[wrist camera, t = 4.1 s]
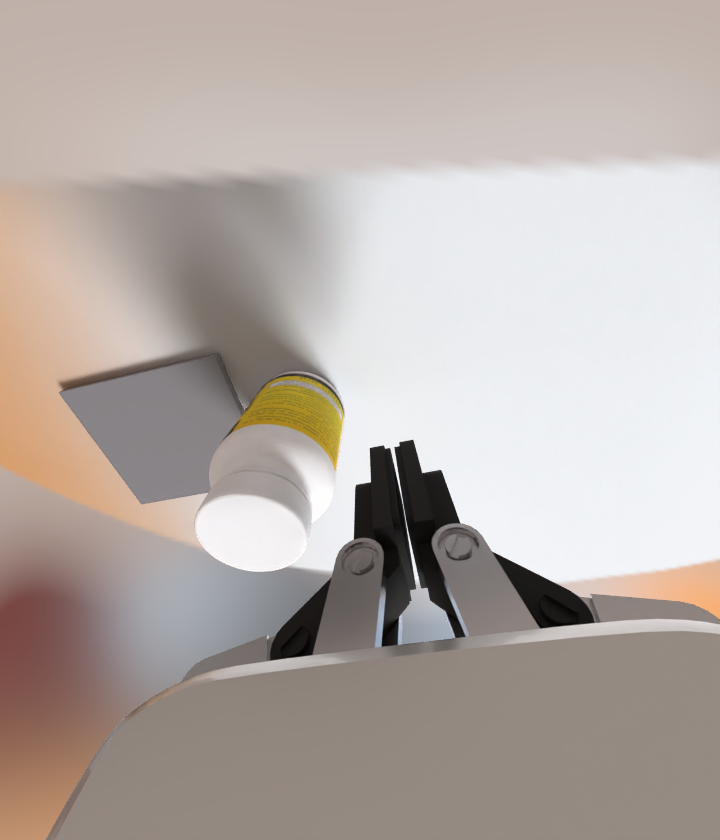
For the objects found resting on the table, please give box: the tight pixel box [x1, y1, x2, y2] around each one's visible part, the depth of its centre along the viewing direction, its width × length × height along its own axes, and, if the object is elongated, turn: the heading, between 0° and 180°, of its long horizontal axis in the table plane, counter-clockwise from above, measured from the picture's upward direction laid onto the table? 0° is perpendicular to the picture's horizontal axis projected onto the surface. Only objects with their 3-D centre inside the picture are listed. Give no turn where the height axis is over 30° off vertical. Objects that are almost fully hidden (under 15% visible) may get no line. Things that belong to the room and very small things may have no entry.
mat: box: [59, 353, 244, 504], centre depth 20 cm, size 10×9×1 cm
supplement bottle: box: [194, 371, 345, 572], centre depth 15 cm, size 5×5×10 cm
